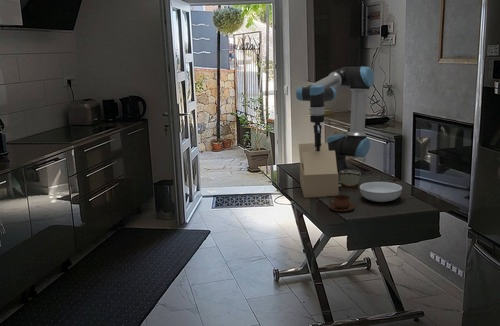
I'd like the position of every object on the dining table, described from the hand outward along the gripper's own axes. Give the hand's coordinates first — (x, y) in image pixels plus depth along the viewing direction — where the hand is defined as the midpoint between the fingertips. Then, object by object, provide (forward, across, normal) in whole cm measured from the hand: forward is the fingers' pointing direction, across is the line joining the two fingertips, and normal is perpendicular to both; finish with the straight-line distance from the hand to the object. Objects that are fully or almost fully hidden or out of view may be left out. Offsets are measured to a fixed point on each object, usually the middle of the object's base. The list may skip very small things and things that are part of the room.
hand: (318, 157), depth 259 cm
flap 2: (+1, +7, 0) cm, 7 cm away
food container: (+19, -3, +18) cm, 26 cm away
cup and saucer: (+19, +32, +8) cm, 38 cm away
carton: (+19, -3, 0) cm, 19 cm away
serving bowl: (+19, +19, +29) cm, 40 cm away
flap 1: (+2, -21, 0) cm, 21 cm away
